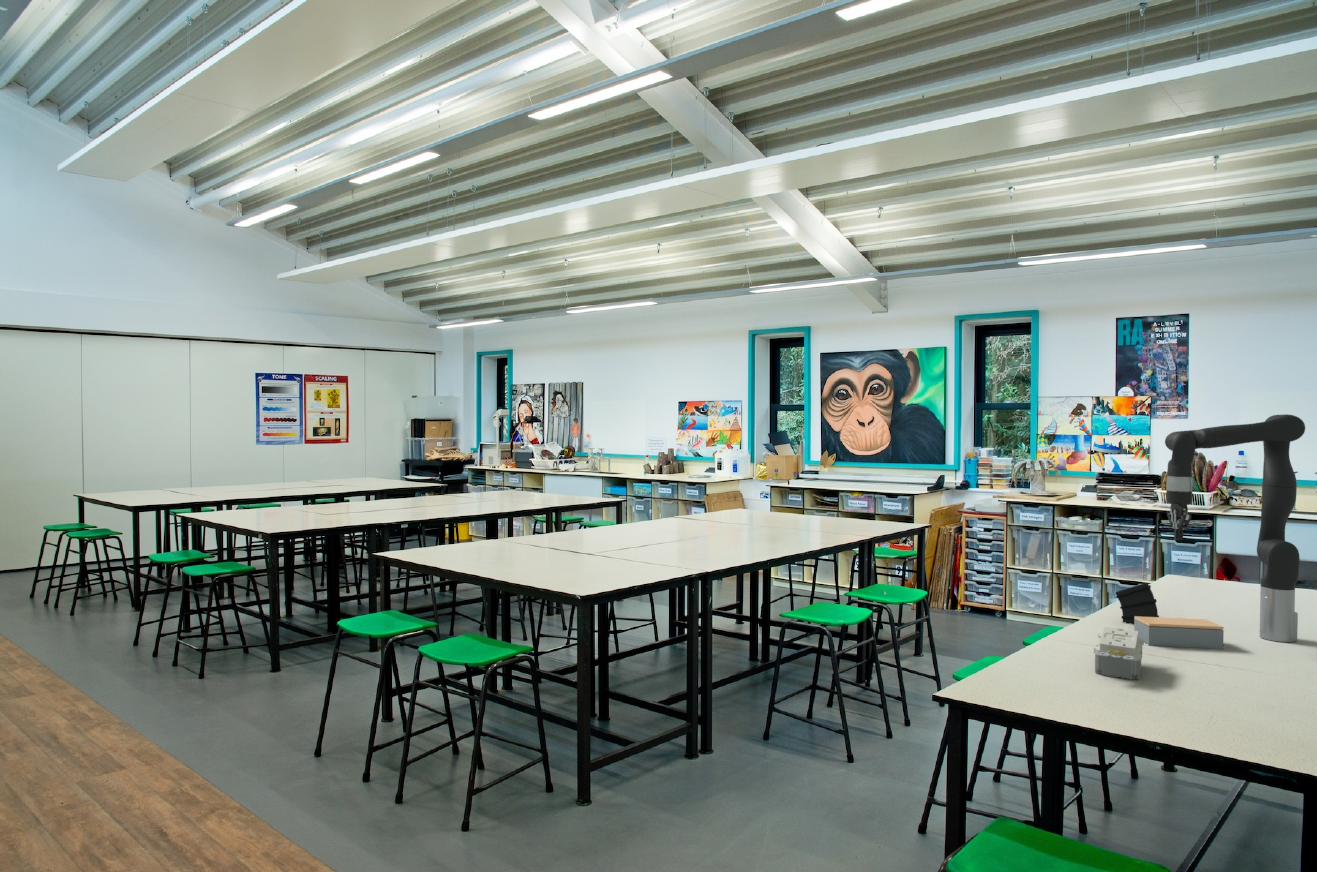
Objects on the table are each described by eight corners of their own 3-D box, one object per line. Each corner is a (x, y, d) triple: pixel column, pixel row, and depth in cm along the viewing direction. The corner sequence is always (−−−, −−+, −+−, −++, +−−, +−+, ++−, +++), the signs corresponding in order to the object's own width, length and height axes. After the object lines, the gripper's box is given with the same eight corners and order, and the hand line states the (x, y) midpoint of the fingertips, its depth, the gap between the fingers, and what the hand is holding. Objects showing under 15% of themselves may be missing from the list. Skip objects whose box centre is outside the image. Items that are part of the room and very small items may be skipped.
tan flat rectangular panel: (1205, 621, 269) (1205, 619, 269) (1223, 629, 258) (1223, 626, 258) (1134, 618, 272) (1134, 616, 272) (1149, 625, 261) (1149, 623, 261)
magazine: (1167, 624, 284) (1147, 583, 288) (1128, 634, 291) (1108, 594, 295) (1169, 622, 287) (1148, 581, 291) (1130, 632, 294) (1110, 593, 298)
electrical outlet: (1144, 659, 243) (1144, 626, 242) (1140, 691, 219) (1140, 654, 218) (1100, 653, 249) (1100, 621, 248) (1091, 683, 225) (1091, 648, 225)
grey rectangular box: (1205, 640, 269) (1205, 622, 269) (1223, 648, 258) (1223, 630, 258) (1134, 636, 272) (1134, 618, 272) (1148, 645, 261) (1149, 626, 261)
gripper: (1201, 491, 271) (1200, 543, 271) (1181, 488, 284) (1180, 537, 284) (1176, 490, 272) (1175, 542, 272) (1158, 488, 285) (1157, 537, 285)
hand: (1178, 540), depth 278 cm, fingers closed
